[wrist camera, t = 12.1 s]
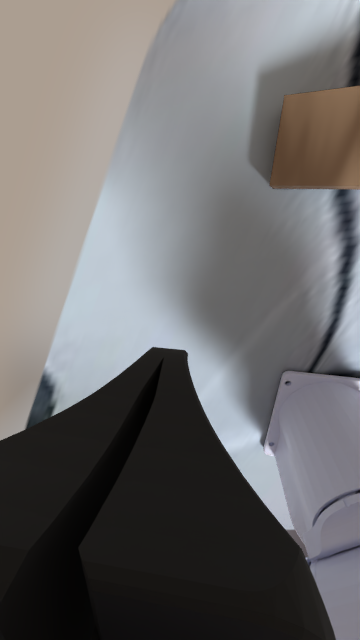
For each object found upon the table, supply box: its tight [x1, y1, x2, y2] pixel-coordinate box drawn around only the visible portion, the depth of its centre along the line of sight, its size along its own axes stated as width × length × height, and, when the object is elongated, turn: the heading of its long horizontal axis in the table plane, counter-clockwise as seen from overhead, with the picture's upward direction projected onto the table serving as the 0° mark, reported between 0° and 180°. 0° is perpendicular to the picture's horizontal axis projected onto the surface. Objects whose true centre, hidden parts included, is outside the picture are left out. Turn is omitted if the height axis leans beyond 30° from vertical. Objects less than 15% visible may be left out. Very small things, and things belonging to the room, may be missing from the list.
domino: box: [269, 86, 360, 189], centre depth 13 cm, size 4×2×7 cm
